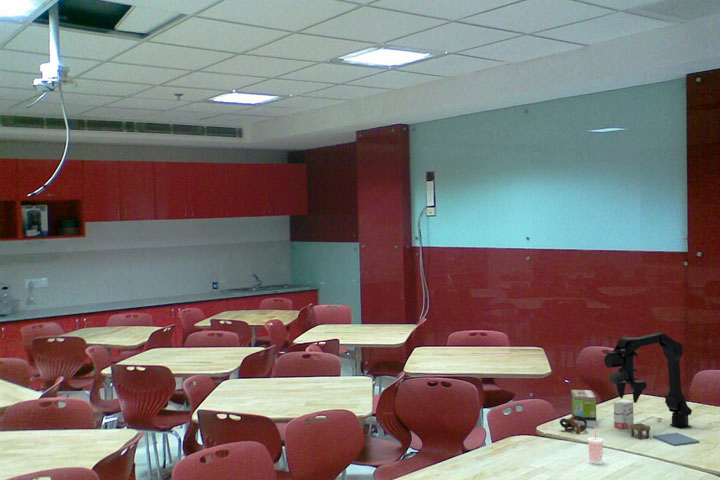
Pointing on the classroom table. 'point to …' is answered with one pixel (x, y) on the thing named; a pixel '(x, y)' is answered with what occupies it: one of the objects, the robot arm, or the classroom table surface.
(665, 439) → the rubber mat
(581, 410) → the tea box
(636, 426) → the walnut stool
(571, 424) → the toy cannon
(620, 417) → the ink box
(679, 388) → the robot arm
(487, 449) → the classroom table surface
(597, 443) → the beverage cup
